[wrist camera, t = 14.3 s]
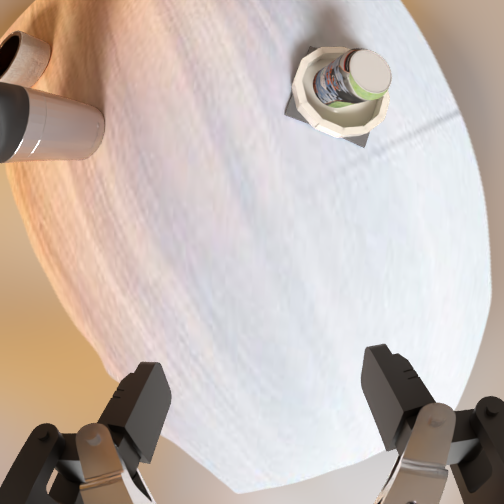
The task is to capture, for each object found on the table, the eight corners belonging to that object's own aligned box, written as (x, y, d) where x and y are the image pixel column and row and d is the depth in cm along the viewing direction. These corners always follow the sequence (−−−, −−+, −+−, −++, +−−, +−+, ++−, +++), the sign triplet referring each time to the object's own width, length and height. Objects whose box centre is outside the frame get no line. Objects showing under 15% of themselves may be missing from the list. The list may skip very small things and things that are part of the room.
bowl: (280, 115, 34) (282, 111, 31) (308, 42, 30) (311, 33, 27) (366, 151, 35) (374, 150, 32) (388, 78, 31) (396, 73, 28)
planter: (55, 34, 29) (27, 19, 20) (49, 77, 32) (16, 67, 22) (21, 56, 29) (-7, 47, 20) (15, 98, 32) (-16, 93, 23)
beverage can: (324, 63, 31) (349, 24, 19) (367, 93, 32) (406, 68, 20) (301, 93, 32) (319, 60, 21) (346, 125, 33) (382, 106, 22)
